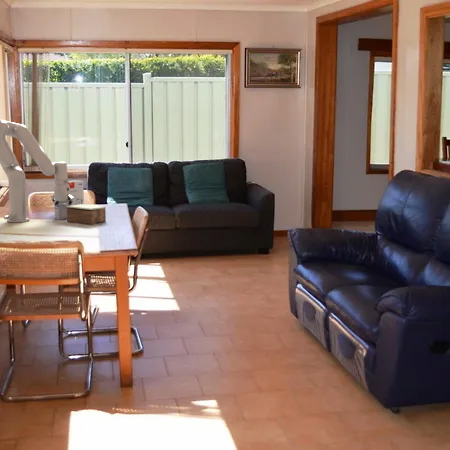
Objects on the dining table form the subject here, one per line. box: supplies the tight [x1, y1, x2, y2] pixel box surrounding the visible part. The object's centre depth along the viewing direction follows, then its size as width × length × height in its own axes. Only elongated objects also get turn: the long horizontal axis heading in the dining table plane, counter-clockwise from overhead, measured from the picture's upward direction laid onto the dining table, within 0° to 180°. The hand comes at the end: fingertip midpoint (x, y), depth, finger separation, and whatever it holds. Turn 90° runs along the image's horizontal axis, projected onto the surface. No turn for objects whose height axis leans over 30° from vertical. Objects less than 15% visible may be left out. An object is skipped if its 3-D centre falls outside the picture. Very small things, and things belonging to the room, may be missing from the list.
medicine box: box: [53, 203, 68, 221], centre depth 433 cm, size 8×4×9 cm, turn 141°
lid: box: [66, 203, 106, 210], centre depth 421 cm, size 13×18×1 cm
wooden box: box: [66, 208, 107, 226], centre depth 422 cm, size 13×18×8 cm
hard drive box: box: [58, 179, 85, 205], centre depth 454 cm, size 16×8×20 cm, turn 143°
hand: (63, 210), depth 433 cm, fingers open, 9 cm apart
